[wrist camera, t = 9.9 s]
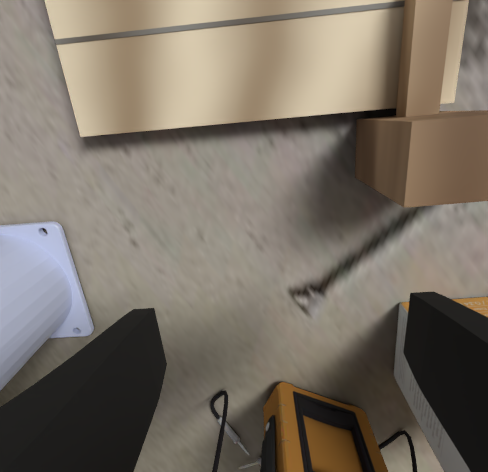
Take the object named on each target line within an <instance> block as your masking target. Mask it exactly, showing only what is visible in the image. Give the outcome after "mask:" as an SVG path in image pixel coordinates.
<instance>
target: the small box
mask: <svg viewBox="0 0 488 472" xmlns="http://www.w3.org/2000/svg"><path fill="white" fill-rule="evenodd" d="M452 300H454V301H456V302H458V303H460V304H462V305H464V306H466V307H468V308H470V309H472V310H474V311H476V312H478V313H480V314H482V315H484V316H486V317H488V297H478V298H465V299H452ZM408 309H409V302H402V303H400V304H399V315H398V327H397V340H396V350H395V365H394V377H395V380H396V382H397V384H398V386H399V387H400V389H401V391H402V393H403V395H404V397H405V399H406V401H407V403H408V405H409V407H410V408H411V410H412V412H413V414H414V416H415V418H416V420H417V422H418V424H419V426H420V428H421V429H422V431H423V433H424V435H425V437H426V439H427V441H428V442H429V444H430V446H431V448H432V450H433V452H434V454H435V456H436V457H437V459H438V461H439V463H440V465H441V467H442V468H443V470H444V472H471V471H470V470H469V468H468V466H467V465H466V463H465V462H464V460H463V458H462V457H461V455H460V454H459V452H458V450H457V449H456V447H455V445H454V444H453V442H452V441H451V439H450V437H449V436H448V434H447V433H446V431H445V429H444V428H443V426H442V424H441V423H440V421H439V420H438V418H437V416H436V415H435V413H434V411H433V410H432V408H431V406H430V405H429V403H428V402H427V400H426V398H425V397H424V395H423V393H422V391H421V390H420V388H419V386H418V384H417V382H416V380H415V378H414V376H413V373H412V371H411V369H410V367H409V365H408V362H407V360H406V358H405V355H404V353H403V350H404V342H405V334H406V326H407V317H408Z"/></svg>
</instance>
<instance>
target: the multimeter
mask: <svg viewBox="0 0 488 472" xmlns="http://www.w3.org/2000/svg"><path fill="white" fill-rule="evenodd" d="M222 395H224V409H223V416H222V417H220V416H219V415H218V413H217V412H216V411H215V408H214V402H215V401H216V399H218V398H219V397H220V396H222ZM227 408H228V395H227V392H226V391H221V392H220V393H218V394H217V395H216V396H214V398H213V399H212V401H211V410H212V413H213V414H214V415H215V417H216V418H217V421H218V423H219V424H220V426H221V428H220V434H219V439H218V444H217V450H216V455H215V460H214V465H213V471H212V472H217V469H218V463H219V458H220V452H221V446H222V441H223V435H224V431H225V432H226V433H227V434H228V435H229V437H230V438H231V439H232V440H233V443H234V444H237V443H238V444H239V445H240V447H241V448H242V449H243V450H244V451H245V453H246V454H248V455H249V453H248V451H247V450H246V449H245V447H244V446H243V445H242V444H241V443H240V437H239V436H237V435H236V433H235V432H234V431H233V430H232V428H231V427H230V426H229V425H228V424H227V422H226V416H227ZM263 412H264V441H263V444H262V456H261V458H260V457H259V458H258V461H257V462H253V463H250V464H247V465H243V466H241V467H239V468H238V469H243V468H247V467H250V466H253V465H256V464H259V466H260V467H261V469H260V472H388V470H387V467H386V465H385V462H384V460H383V457H382V455H381V452H380V449H382V448H384V447H385V446H387V445H388V444H389V443H391V442H392V441H394V440H395V439H396V438H397V437H399V436H400V435H403V434H405V435H406V437H407V439H408V442H409V446H410V451H411V458H412V466H413V472H417V464H416V458H415V451H414V446H413V443H412V440H411V437H410V436H409V435H408V433H407V432H406V431H405V430H404V431H401V432H398V433H396V434H395V435H394V436H392V437H391V438H390V439H389V440H387V441H386V442H384V443H383V444H381V445H380V446H378V444H377V442H376V439H375V436H374V434H373V431H372V429H371V426H370V424H369V421H368V418H367V415H366V413H365V412H364V411H363V410H362V409H360V408H358V407H355V406H353V405H350V404H349V405H346V404H343V403H340V402H337V401H334V400H331V399H328V398H325V397H323V396H320V395H317V394H314V393H311V392H308V391H305V390H302V389H299V388H296V387H294V386H293V384H289V383H285V382H280V383H279V384H278V385H277V386H276V387H275V389H274V391H273V392H272V394H271V396H270V397H269V399H268V401H267V402H266V404H265V405H264V407H263ZM249 456H250V455H249Z"/></svg>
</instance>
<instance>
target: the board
mask: <svg viewBox="0 0 488 472" xmlns="http://www.w3.org/2000/svg"><path fill="white" fill-rule="evenodd" d="M468 2H469V0H453V3H452V11H451V19H450V28H449V36H448V44H447V52H446V60H445V68H444V76H443V85H442V93H441V101H440V104H444V103H454V99H455V92H456V85H457V79H458V72H459V65H460V58H461V51H462V44H463V37H464V30H465V23H466V16H467V9H468ZM45 4H46V8H47V12H48V15H49V19H50V23H51V27H52V31H53V34H54V38H55V39H54V40H55V44H56V46H57V50H58V53H59V57H60V61H61V65H62V69H63V72H64V76H65V80H66V84H67V87H68V91H69V95H70V99H71V103H72V106H73V110H74V114H75V118H76V122H77V125H78V129H79V133H80V137H86V136H96V135H107V134H118V133H129V132H140V131H151V130H162V129H172V128H183V127H194V126H205V125H216V124H227V123H238V122H249V121H259V120H270V119H281V118H292V117H303V116H314V115H325V114H335V113H346V112H357V111H368V110H379V109H390V108H397V96H398V83H399V70H400V57H401V44H402V31H403V18H404V5H405V0H45Z"/></svg>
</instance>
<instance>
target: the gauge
mask: <svg viewBox="0 0 488 472" xmlns="http://www.w3.org/2000/svg"><path fill="white" fill-rule="evenodd" d="M452 3H453V0H405V5H404V18H403V31H402V44H401V57H400V70H399V83H398V96H397V109H396V115H394V116H384V117H374V118H364V119H357V128H356V157H355V178H357V179H359V180H360V181H362V182H363V183H365V184H367V185H368V186H370V187H372V188H373V189H375V190H376V191H378V192H380V193H381V194H383V195H384V196H386V197H388V198H389V199H391V200H393V201H394V202H396V203H397V204H399V205H401V206H402V207H417V206H429V205H442V204H454V203H467V202H479V201H488V111H439V109H440V101H441V93H442V85H443V76H444V68H445V60H446V52H447V44H448V36H449V28H450V19H451V11H452Z"/></svg>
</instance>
